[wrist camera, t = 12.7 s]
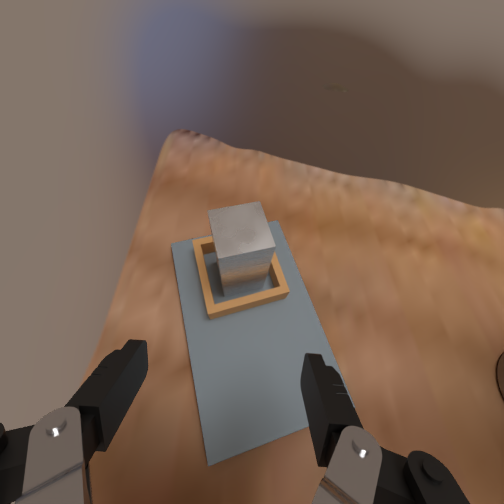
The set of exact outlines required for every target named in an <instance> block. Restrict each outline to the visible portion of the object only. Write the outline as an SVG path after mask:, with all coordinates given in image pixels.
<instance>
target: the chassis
mask: <svg viewBox="0 0 504 504" xmlns="http://www.w3.org/2000/svg"><path fill="white" fill-rule="evenodd" d="M267 223H268V225H269V228H270V231H271V234H272V237H273V240H274V242H275V245H276V248H275V251H274V254H273V257H272V261H271V264H270V267H269V270H268V274H267V277H266V280H265V283H264V286H263V288H261V289H256V290H252V291H248V292H244V293H240V294H236V295H232V296H228V297H224V293H223V288H222V284H221V279H220V275H219V270H218V266H217V261H216V256H215V250H214V245H213V239H212V235H208V236H204V237H199V238H195V239H190V240H185V241H181V242H176V243H172V244H171V246H172V252H173V258H174V264H175V270H176V276H177V282H178V288H179V294H180V300H181V306H182V312H183V318H184V324H185V330H186V336H187V342H188V348H189V354H190V360H191V366H192V372H193V378H194V384H195V390H196V396H197V402H198V408H199V414H200V421H201V427H202V433H203V439H204V445H205V451H206V457H207V463H208V466H211V465H213V464H216V463H218V462H221V461H223V460H226V459H228V458H231V457H233V456H236V455H238V454H241V453H243V452H246V451H248V450H251V449H253V448H256V447H258V446H261V445H263V444H266V443H268V442H271V441H273V440H276V439H278V438H281V437H283V436H286V435H288V434H291V433H293V432H296V431H298V430H301V429H303V428H306V427H309V424H308V419H307V415H306V410H305V406H304V401H303V397H302V392H301V386H300V378H301V372H302V367H303V362H304V356H305V354H306V353H314V354H321V355H322V357H323V360H324V362H325V365H326V366H332V367H333V368H334V369H335V370H336V371H337V372H338V373H339V374H340V376H341V379H342V381H343V383H344V387H345V388H346V390H347V392H348V395H349V397H350V399H351V396H350V394H349V391H348V389H347V386H346V384H345V382H344V379H343V377H342V374H341V372H340V370H339V367H338V365H337V362H336V360H335V357H334V355H333V353H332V350H331V348H330V345H329V343H328V341H327V338H326V336H325V333H324V331H323V328H322V326H321V324H320V321H319V319H318V316H317V314H316V312H315V309H314V307H313V304H312V302H311V300H310V297H309V295H308V292H307V290H306V287H305V285H304V283H303V280H302V278H301V275H300V273H299V271H298V268H297V266H296V263H295V261H294V258H293V256H292V254H291V251H290V249H289V246H288V244H287V242H286V239H285V237H284V234H283V232H282V229H281V227H280V225H279V222H278V220H277V221H272V222H267ZM351 401H352V399H351ZM352 404H353V406H354V403H353V401H352ZM354 408H355V406H354Z"/></svg>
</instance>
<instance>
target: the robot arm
mask: <svg viewBox="0 0 504 504" xmlns="http://www.w3.org/2000/svg"><path fill="white" fill-rule="evenodd" d="M147 370H148V354H147V342H146V341H145V340H132V339H130V340H128V341H127V343H126V344H125V345H124V347H123V348H122V349H121V350H115V351H113V352H112V353H110V354H109V355H107V356H106V357H105V358H104V359H103V360H102V362H101V363H100V364H99V365H98V367H97V368H96V369H95V370H94V371H93V372H92V374H91V376H89V377H88V379H87V380H86V381H85V382H84V383H83V385H82V386H81V387H80V388H79V389H78V391H77V392H76V393H75V394H74V396H73V397H72V398H71V399H70V400H69V402H68V403H67V404H66V405H65V406H64V407H63V408H59V409H56V410H54V411H52V412H50V413H48V414H47V415H45V416H44V417H43V418H41V419H40V420H39V421H38V422H37V423H36V424H35V425H32V426H27V427H23V428H18V429H14V430H10V431H5V429H4V426H3V424H2V423H0V504H11V502H14V501H15V504H93V500H92V488H91V476H90V465H89V461H90V459H91V457H92V456H93V454H94V452H95V451H103V452H106V450H107V448H108V446H109V444H110V443H111V441H112V439H113V437H114V435H115V433H116V431H117V430H118V428H119V426H120V424H121V422H122V420H123V418H124V417H125V415H126V413H127V411H128V409H129V407H130V405H131V404H132V402H133V400H134V398H135V396H136V394H137V392H138V391H139V389H140V387H141V385H142V383H143V381H144V379H145V377H146V374H147ZM497 378H498V382H499V387H500V390H501V392H502V395H503V397H504V354H503V355H502V356H501V358H500V360H499V363H498V367H497ZM300 386H301V392H302V397H303V401H304V406H305V410H306V415H307V419H308V424H309V428H310V433H311V437H312V442H313V446H314V451H315V455H316V459H317V464H318V466H319V467H327V471H326V473H325V476H324V478H322V480H321V482H320V484H319V487H318V489H317V492H316V494H315V497H314V499H313V501H312V504H470V503H469V501H468V500H467V498H466V496H465V495H464V493H463V492H462V490H461V488H460V487H459V485H458V484H457V482H456V480H455V479H454V477H453V476H452V474H451V473H450V471H449V470H448V469H447V468H446V467H445V466H444V465H443V464H442V463H441V462H440V461H439V460H437V459H436V458H435V457H433V456H432V455H430V454H428V453H425V452H423V451H412V452H411V453H410V454H409V456H408V458H406V457H404V456H401V455H399V454H396V453H393V452H391V451H388V450H386V449H384V448H382V447H381V446H379V444H378V442H377V441H376V440H375V438H374V437H373V436H372V435H371V434H370V433H369V432H367V431H366V430H364V429H363V427H362V424H361V422H360V420H359V417H358V415H357V413H356V411H355V408H354V406H353V404H352V401H351V399H350V397H349V395H348V392H347V390H346V388H345V387H344V383H343V381H342V379H341V376H340V374H339V373H338V372H337V371H336V370H335V369H334V368H333V367H332V366H326V365H325V362H324V360H323V357H322V355H321V354H314V353H306V354H305V356H304V362H303V367H302V372H301V378H300Z"/></svg>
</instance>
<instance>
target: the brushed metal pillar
mask: <svg viewBox="0 0 504 504" xmlns="http://www.w3.org/2000/svg"><path fill="white" fill-rule="evenodd" d="M207 212H208V217H209V223H210V228H211V234H212V239H213V245H214V250H215V256H216V261H217V266H218V270H219V275H220V279H221V284H222V288H223V293H224V297H228V296H232V295H236V294H240V293H244V292H248V291H252V290H256V289H261V288H263V286H264V283H265V280H266V277H267V274H268V270H269V267H270V264H271V261H272V257H273V254H274V251H275V248H276V245H275V242H274V240H273V237H272V234H271V231H270V228H269V225H268V223H267V220H266V217H265V214H264V211H263V209H262V206H261V203H260V201H258V202H253V203H247V204H241V205H236V206H230V207H224V208H219V209H213V210H207Z"/></svg>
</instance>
